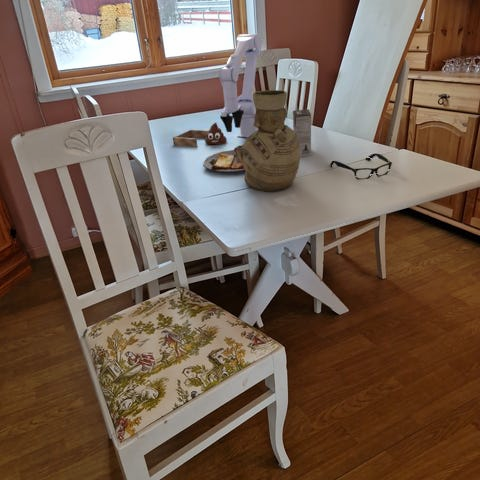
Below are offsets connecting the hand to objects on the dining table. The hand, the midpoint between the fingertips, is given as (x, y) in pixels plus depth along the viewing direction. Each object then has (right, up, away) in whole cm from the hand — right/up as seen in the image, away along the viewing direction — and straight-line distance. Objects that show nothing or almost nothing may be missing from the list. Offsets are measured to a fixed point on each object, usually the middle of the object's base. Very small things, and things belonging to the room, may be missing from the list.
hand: (233, 129), depth 184 cm
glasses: (+45, -25, -39) cm, 64 cm away
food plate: (+1, -20, -22) cm, 29 cm away
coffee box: (+28, -14, -16) cm, 35 cm away
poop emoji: (-8, -4, +8) cm, 12 cm away
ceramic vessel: (+13, -31, -44) cm, 56 cm away
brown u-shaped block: (-19, -2, +13) cm, 23 cm away
